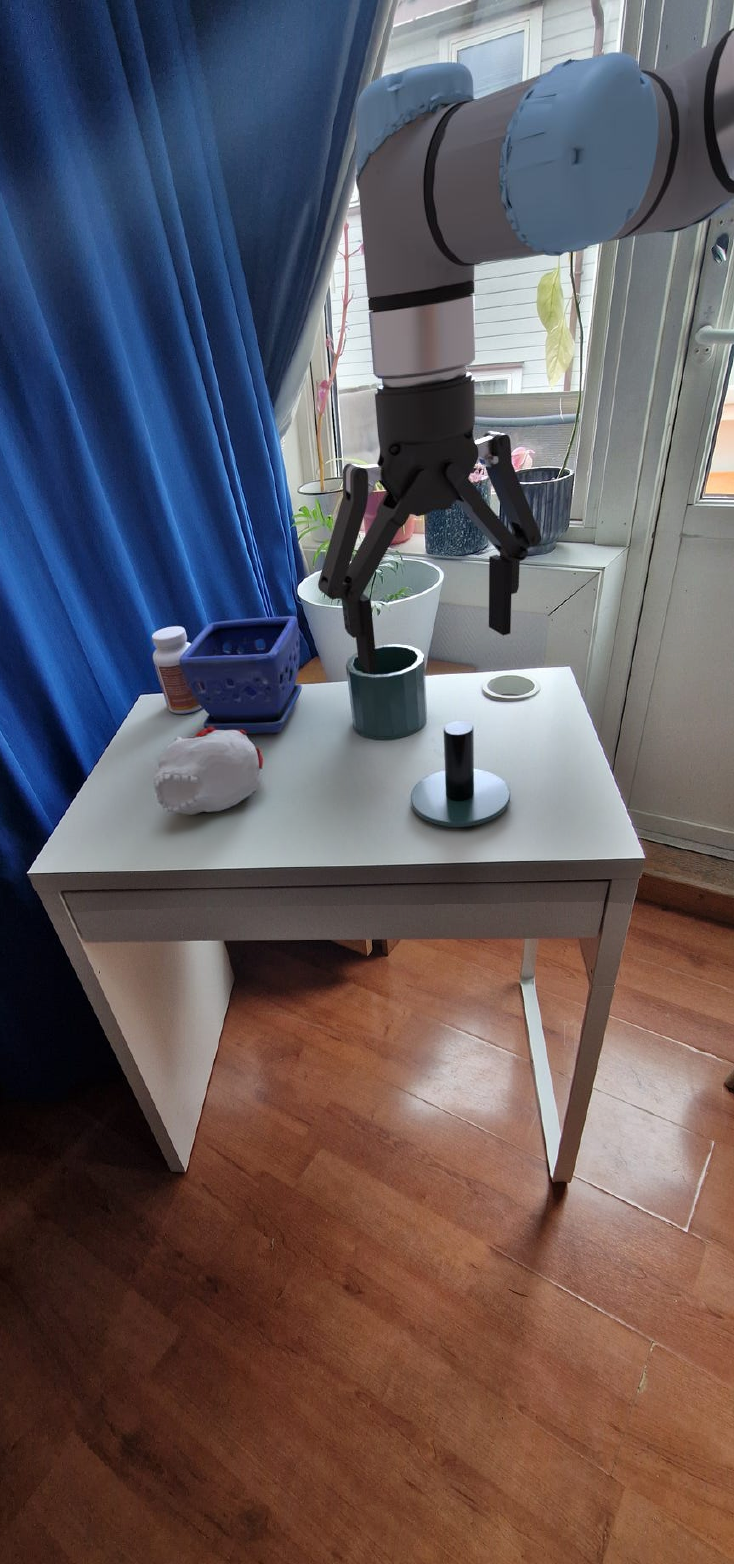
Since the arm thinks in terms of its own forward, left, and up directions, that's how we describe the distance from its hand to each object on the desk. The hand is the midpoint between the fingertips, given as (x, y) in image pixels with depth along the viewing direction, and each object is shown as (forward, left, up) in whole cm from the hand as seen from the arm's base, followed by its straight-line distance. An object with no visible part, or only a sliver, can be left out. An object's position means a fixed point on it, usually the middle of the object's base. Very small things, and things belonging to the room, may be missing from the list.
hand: (434, 649), depth 68 cm
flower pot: (+27, -22, -18) cm, 39 cm away
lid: (-2, -1, -17) cm, 17 cm away
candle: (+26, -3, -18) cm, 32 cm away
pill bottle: (+39, -27, -18) cm, 51 cm away
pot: (+8, -20, -18) cm, 28 cm away
